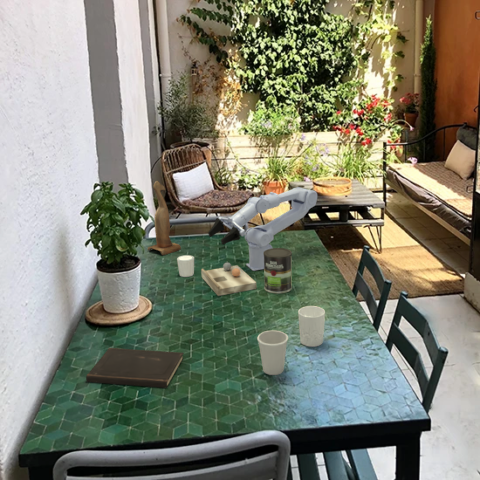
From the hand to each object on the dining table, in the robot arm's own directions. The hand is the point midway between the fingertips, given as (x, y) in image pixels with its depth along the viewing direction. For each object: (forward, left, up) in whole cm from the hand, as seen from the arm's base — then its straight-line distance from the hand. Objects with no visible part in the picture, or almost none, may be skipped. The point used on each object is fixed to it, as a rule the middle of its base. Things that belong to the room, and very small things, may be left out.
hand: (215, 238), depth 222 cm
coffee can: (-18, +19, -17) cm, 30 cm away
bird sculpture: (+10, -43, -17) cm, 48 cm away
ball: (-6, +7, -12) cm, 15 cm away
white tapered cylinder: (+10, -10, -17) cm, 22 cm away
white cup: (-10, +61, -17) cm, 63 cm away
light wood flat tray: (-3, +6, -17) cm, 18 cm away
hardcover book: (+42, +55, -17) cm, 71 cm away
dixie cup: (+7, +71, -17) cm, 73 cm away
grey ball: (-5, -1, -12) cm, 13 cm away
